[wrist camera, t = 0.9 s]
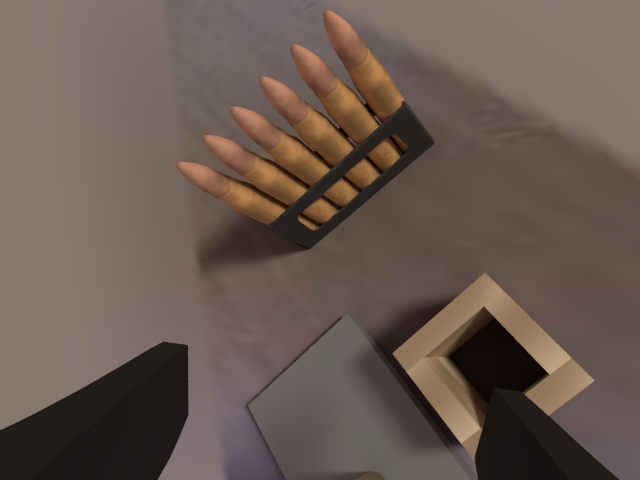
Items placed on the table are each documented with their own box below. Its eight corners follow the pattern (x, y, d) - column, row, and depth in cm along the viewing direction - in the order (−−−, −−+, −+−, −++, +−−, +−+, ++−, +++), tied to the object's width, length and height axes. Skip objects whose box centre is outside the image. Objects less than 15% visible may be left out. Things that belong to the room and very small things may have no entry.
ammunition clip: (308, 250, 28) (169, 193, 18) (296, 230, 29) (157, 164, 19) (435, 142, 26) (356, 4, 15) (417, 124, 26) (331, -19, 16)
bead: (585, 374, 19) (594, 380, 15) (494, 443, 20) (479, 467, 16) (498, 288, 22) (484, 272, 18) (422, 353, 23) (392, 353, 19)
